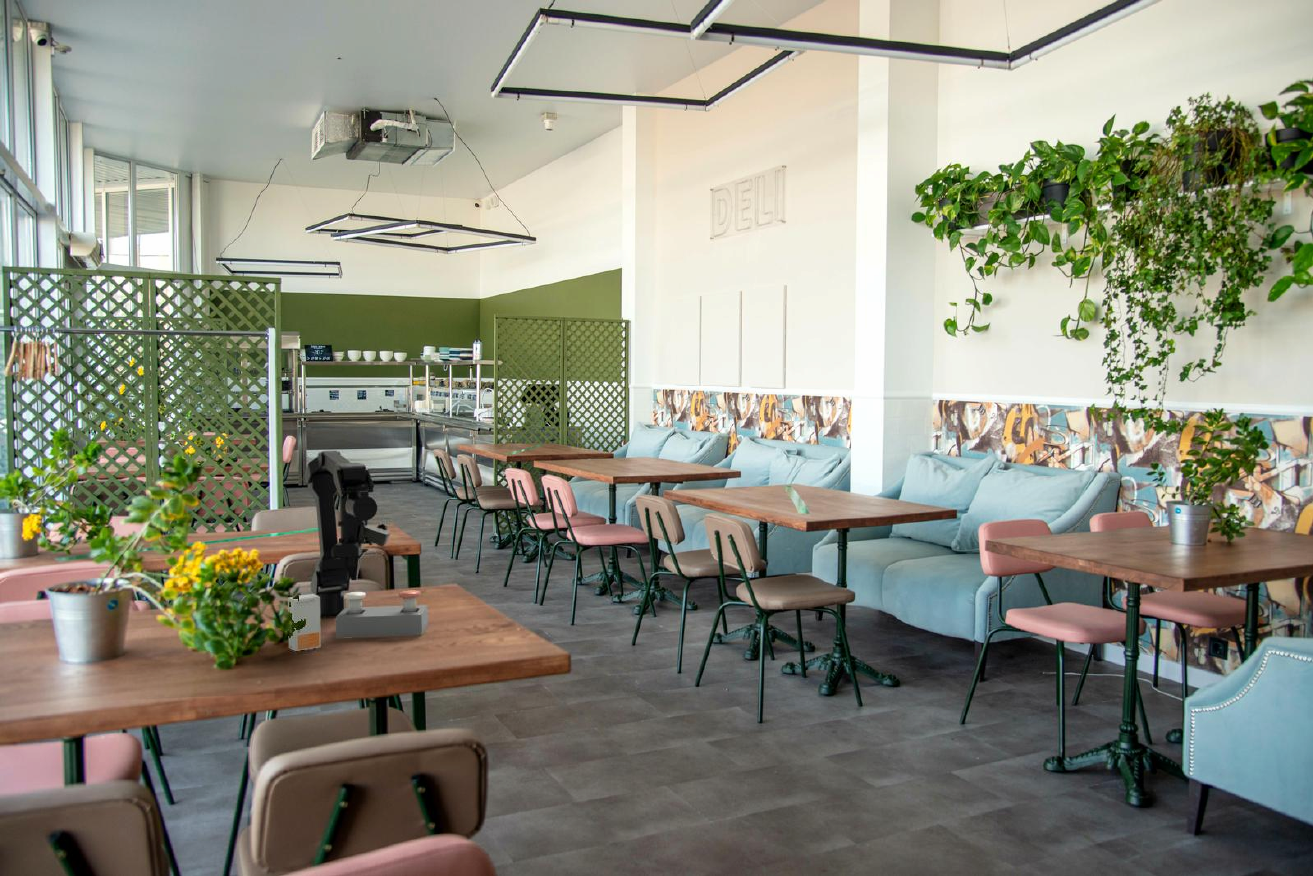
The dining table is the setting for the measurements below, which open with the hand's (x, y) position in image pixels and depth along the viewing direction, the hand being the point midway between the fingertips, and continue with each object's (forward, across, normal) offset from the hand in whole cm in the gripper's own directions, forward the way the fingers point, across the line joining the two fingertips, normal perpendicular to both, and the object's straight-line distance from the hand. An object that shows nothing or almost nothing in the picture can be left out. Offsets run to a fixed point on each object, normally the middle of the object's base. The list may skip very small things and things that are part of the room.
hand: (354, 580), depth 231 cm
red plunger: (+8, 0, -13) cm, 16 cm away
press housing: (+13, 0, -6) cm, 14 cm away
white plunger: (+9, 0, 0) cm, 9 cm away
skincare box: (+13, -13, +8) cm, 20 cm away
